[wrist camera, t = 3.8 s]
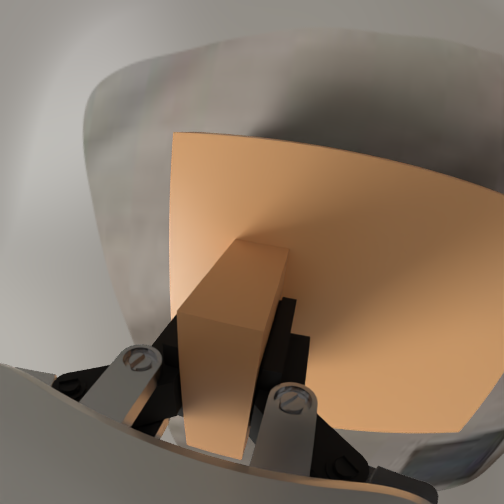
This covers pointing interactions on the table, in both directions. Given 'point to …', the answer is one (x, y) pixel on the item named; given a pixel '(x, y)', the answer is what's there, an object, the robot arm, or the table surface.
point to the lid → (332, 284)
